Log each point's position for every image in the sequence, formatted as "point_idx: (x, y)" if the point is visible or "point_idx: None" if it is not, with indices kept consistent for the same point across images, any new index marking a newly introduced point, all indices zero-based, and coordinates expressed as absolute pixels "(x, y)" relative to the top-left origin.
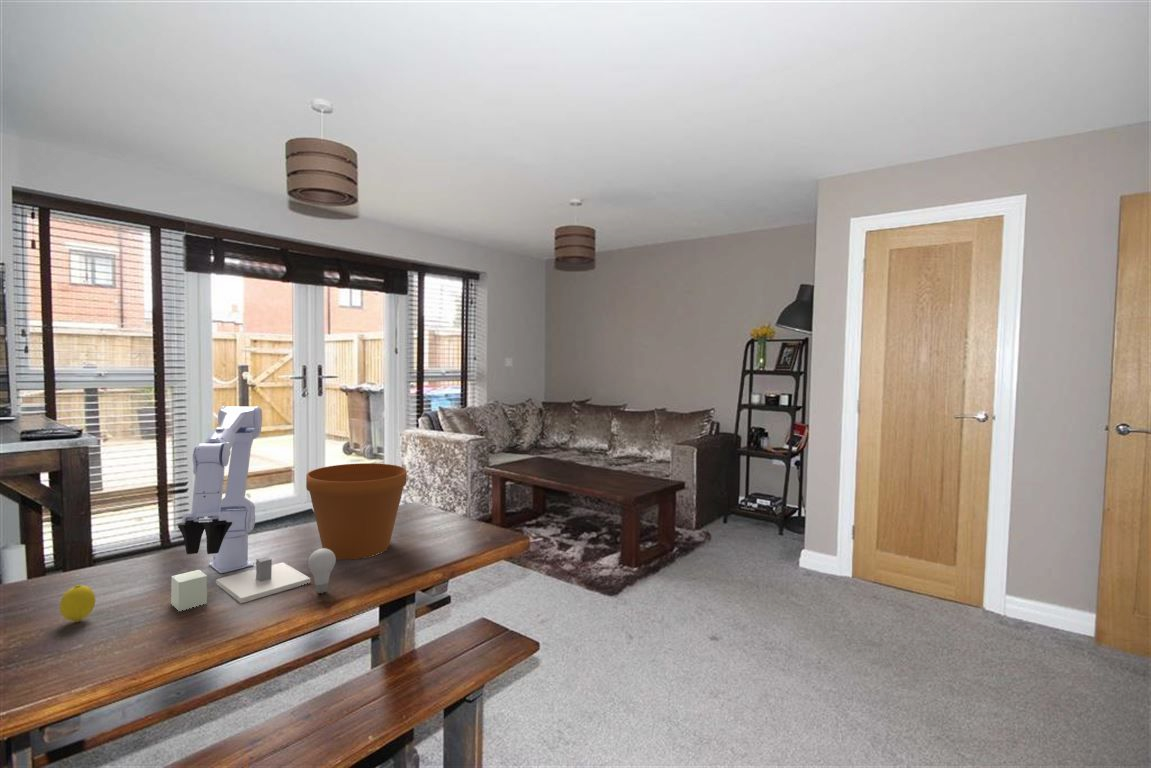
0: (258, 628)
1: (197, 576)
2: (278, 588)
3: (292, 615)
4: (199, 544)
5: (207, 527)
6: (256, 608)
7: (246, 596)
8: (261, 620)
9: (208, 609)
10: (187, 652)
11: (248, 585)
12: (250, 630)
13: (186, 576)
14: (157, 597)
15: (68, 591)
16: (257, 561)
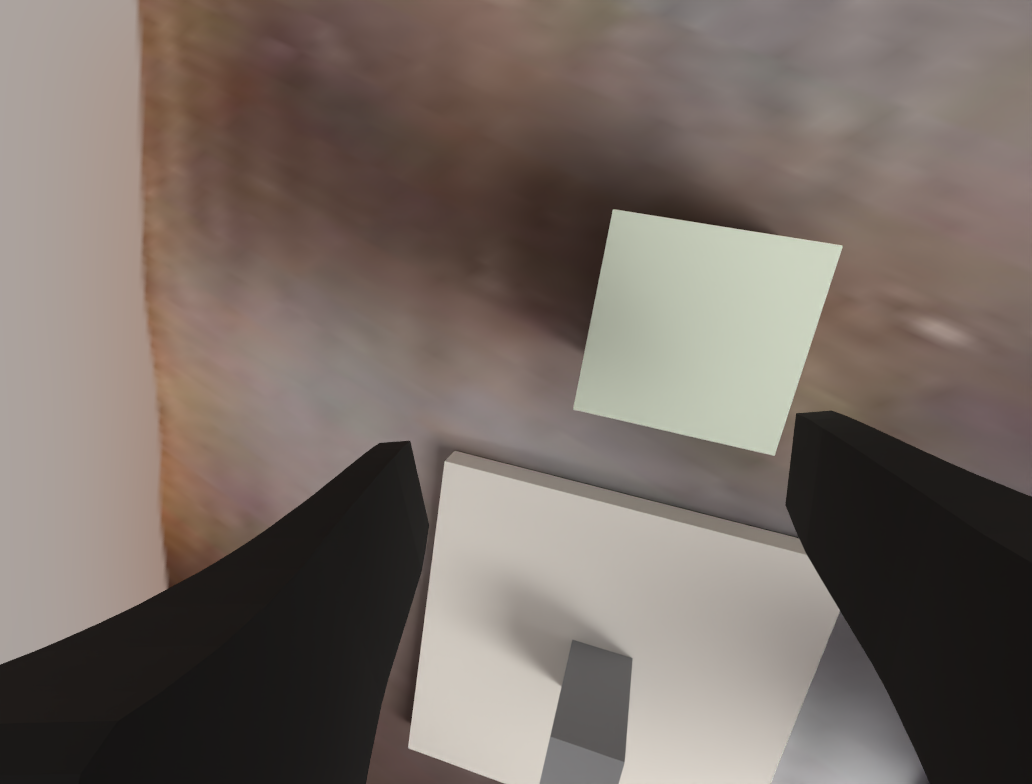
0: (158, 333)
1: (619, 363)
2: (426, 619)
3: (177, 475)
4: (837, 596)
5: (77, 666)
6: (345, 449)
7: (443, 486)
8: (217, 385)
9: (519, 325)
10: (143, 30)
11: (576, 582)
12: (162, 305)
13: (701, 315)
14: (1015, 244)
15: None
16: (603, 745)
